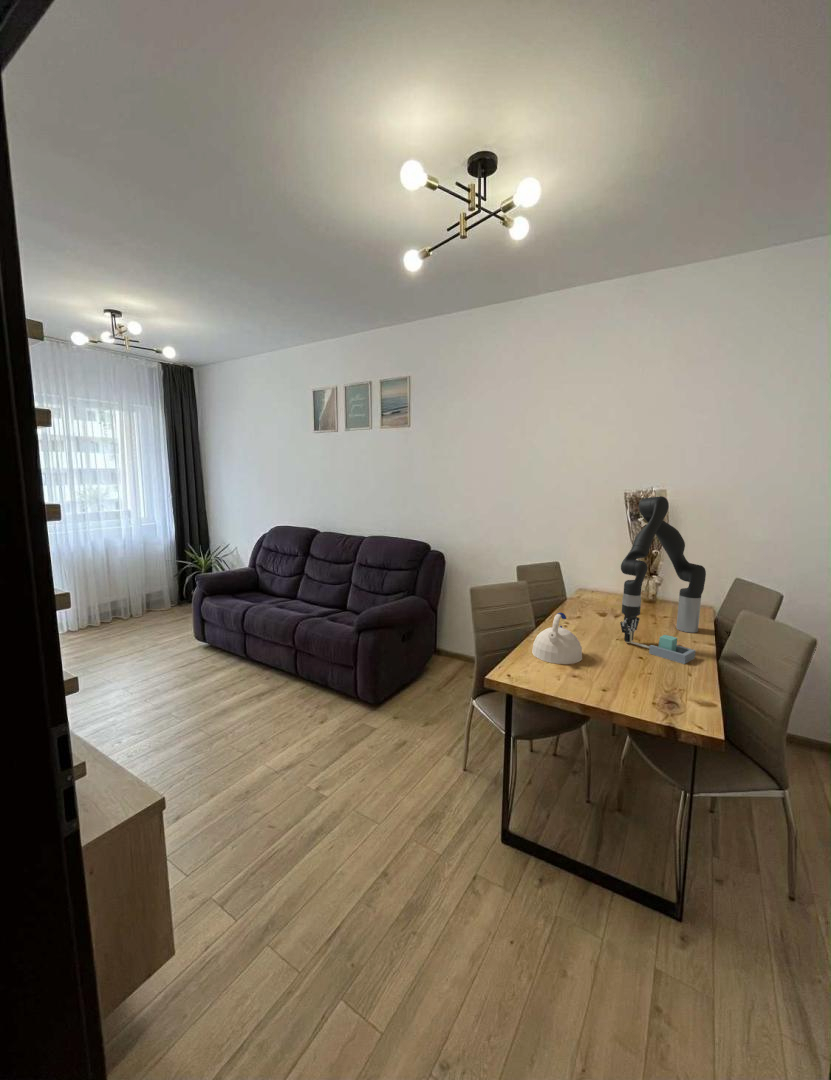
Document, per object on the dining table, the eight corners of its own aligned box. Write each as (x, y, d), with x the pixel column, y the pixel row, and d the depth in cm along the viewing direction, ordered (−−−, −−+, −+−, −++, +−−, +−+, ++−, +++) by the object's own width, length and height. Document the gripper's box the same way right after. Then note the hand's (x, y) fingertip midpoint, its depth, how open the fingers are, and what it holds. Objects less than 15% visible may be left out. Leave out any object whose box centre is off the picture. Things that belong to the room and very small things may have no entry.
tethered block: (628, 640, 205) (629, 625, 204) (675, 653, 189) (677, 637, 188) (623, 642, 202) (624, 627, 201) (670, 656, 186) (672, 640, 185)
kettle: (525, 658, 185) (527, 615, 182) (539, 642, 202) (541, 604, 200) (576, 669, 174) (578, 624, 172) (586, 652, 192) (589, 611, 189)
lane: (659, 648, 197) (660, 640, 196) (694, 658, 186) (695, 650, 185) (648, 653, 190) (649, 645, 190) (684, 664, 180) (685, 655, 179)
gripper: (630, 599, 207) (627, 635, 210) (615, 604, 199) (612, 641, 201) (647, 602, 201) (644, 639, 204) (632, 608, 193) (629, 646, 195)
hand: (628, 640), depth 202 cm, fingers closed on tethered block, 2 cm apart
